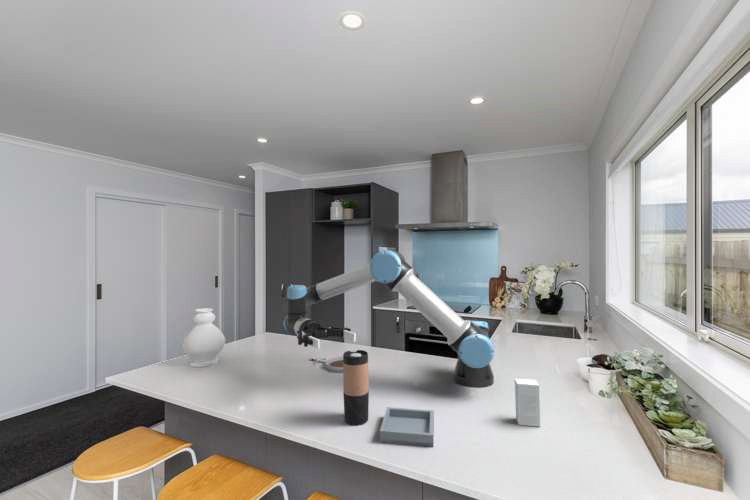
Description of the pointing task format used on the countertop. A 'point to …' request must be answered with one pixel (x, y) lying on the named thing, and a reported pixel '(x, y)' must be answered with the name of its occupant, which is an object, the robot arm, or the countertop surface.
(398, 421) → the tray
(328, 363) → the frying pan
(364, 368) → the travel mug
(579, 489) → the countertop surface
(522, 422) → the skincare box
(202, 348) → the decorative vase
